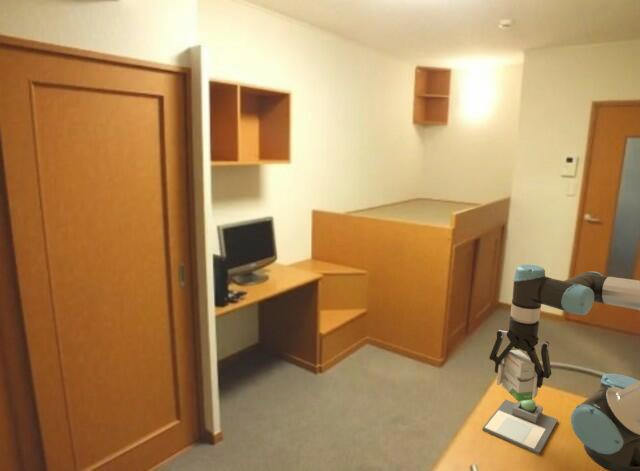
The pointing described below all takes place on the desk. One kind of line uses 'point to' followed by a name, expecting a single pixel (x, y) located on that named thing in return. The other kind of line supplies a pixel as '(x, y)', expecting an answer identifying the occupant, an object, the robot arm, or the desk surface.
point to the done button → (528, 405)
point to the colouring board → (521, 426)
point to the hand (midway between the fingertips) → (516, 389)
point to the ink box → (518, 375)
